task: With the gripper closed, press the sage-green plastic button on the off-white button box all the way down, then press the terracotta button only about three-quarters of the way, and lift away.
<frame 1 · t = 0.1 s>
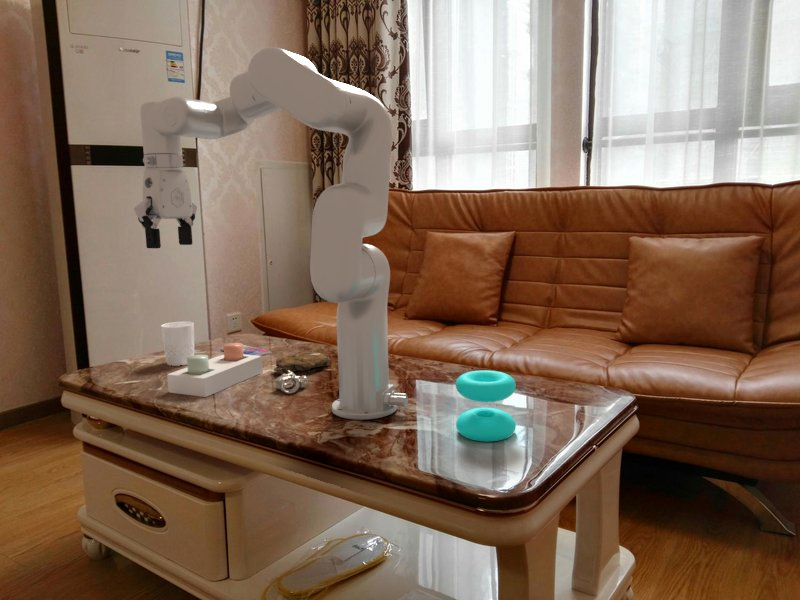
hand: (170, 246, 133), 31 cm above the table, tool pointing down, fingers open, 9 cm apart
sage button: (198, 366, 135), point 5 cm above the table, slide at 0.0 cm
ornament: (292, 390, 135), on the table
donuts: (485, 434, 106), on the table
decorative rock: (302, 370, 151), on the table
smartphone: (246, 353, 169), on the table
terracotta button: (233, 353, 146), point 5 cm above the table, slide at 0.0 cm
white cup: (180, 363, 159), on the table
button box: (218, 381, 141), on the table
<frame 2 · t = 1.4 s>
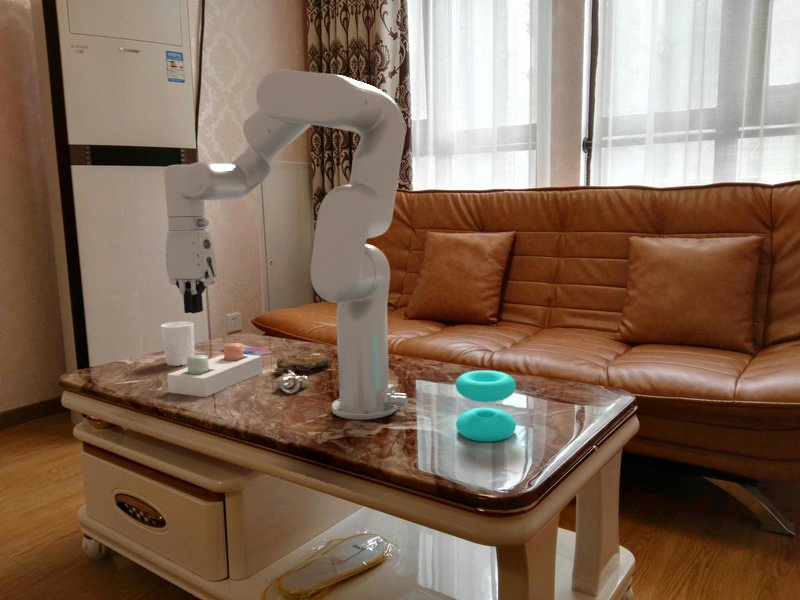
hand: (193, 311, 133), 17 cm above the table, tool pointing down, fingers closed
nothing on the table moved.
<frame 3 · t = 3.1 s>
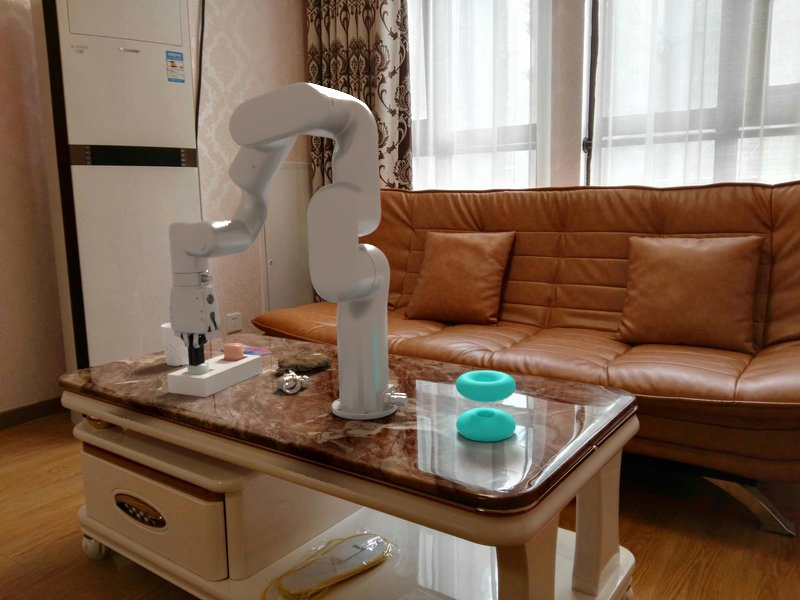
hand: (196, 364, 135), 6 cm above the table, tool pointing down, fingers closed
sage button: (198, 373, 135), point 4 cm above the table, slide at 1.6 cm, touching gripper
everything else where it was.
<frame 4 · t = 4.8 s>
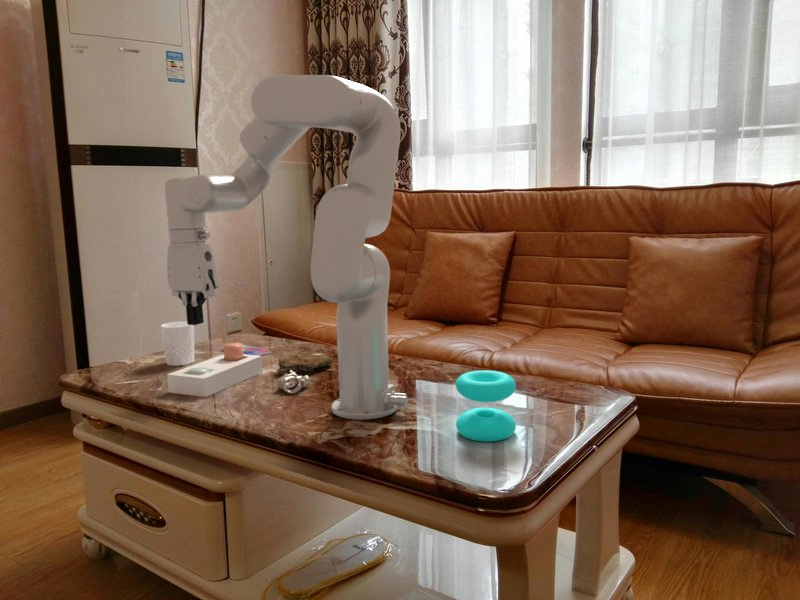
hand: (195, 323, 133), 15 cm above the table, tool pointing down, fingers closed
sage button: (199, 378, 135), point 2 cm above the table, slide at 2.8 cm
everything else where it was.
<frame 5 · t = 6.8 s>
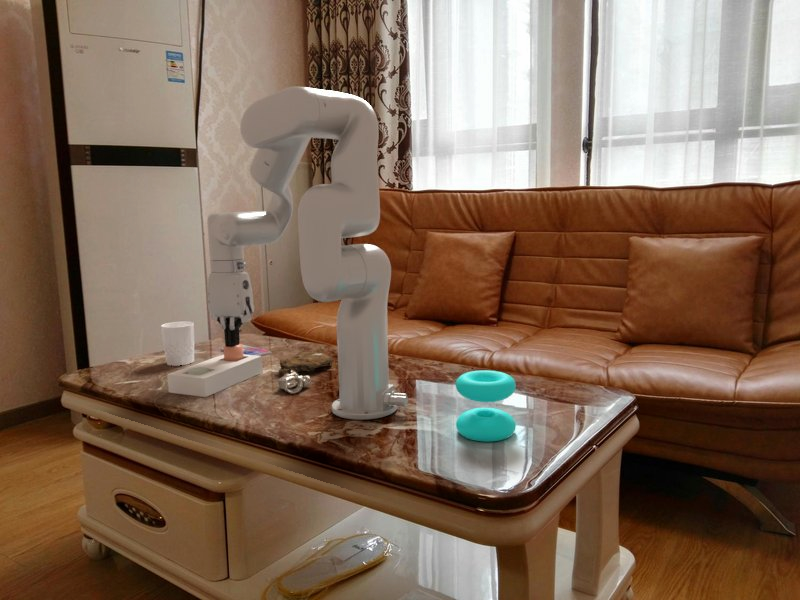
hand: (232, 345, 146), 7 cm above the table, tool pointing down, fingers closed
terracotta button: (233, 353, 146), point 5 cm above the table, slide at 0.2 cm, touching gripper
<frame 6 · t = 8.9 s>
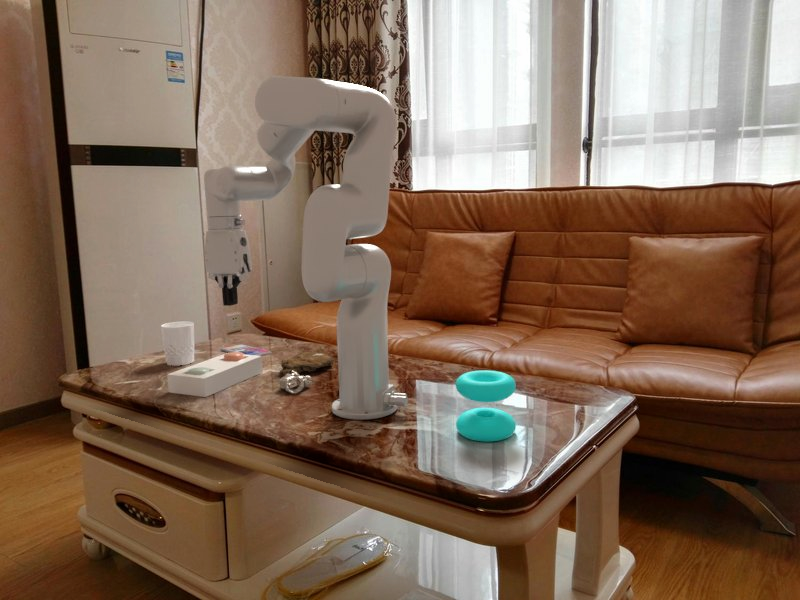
hand: (230, 304, 144), 17 cm above the table, tool pointing down, fingers closed
terracotta button: (234, 362, 146), point 3 cm above the table, slide at 2.2 cm
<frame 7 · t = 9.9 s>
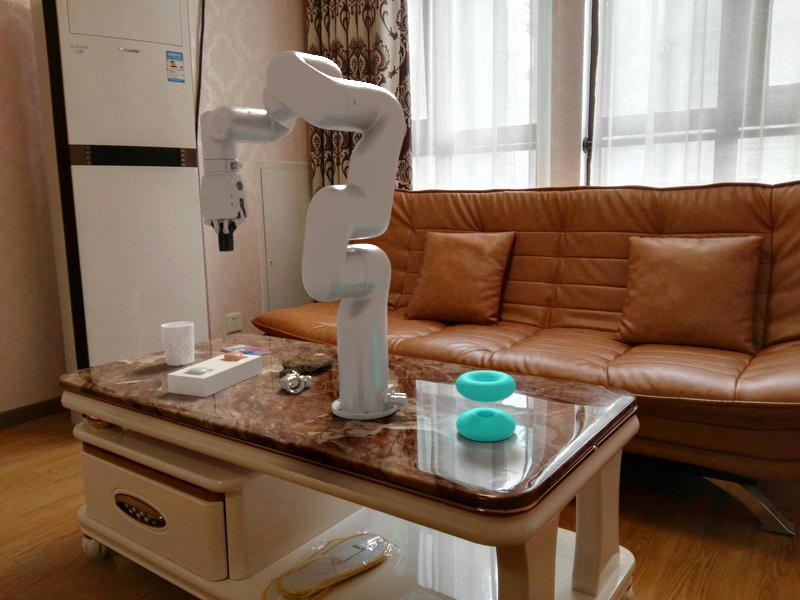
hand: (226, 250, 142), 29 cm above the table, tool pointing down, fingers closed
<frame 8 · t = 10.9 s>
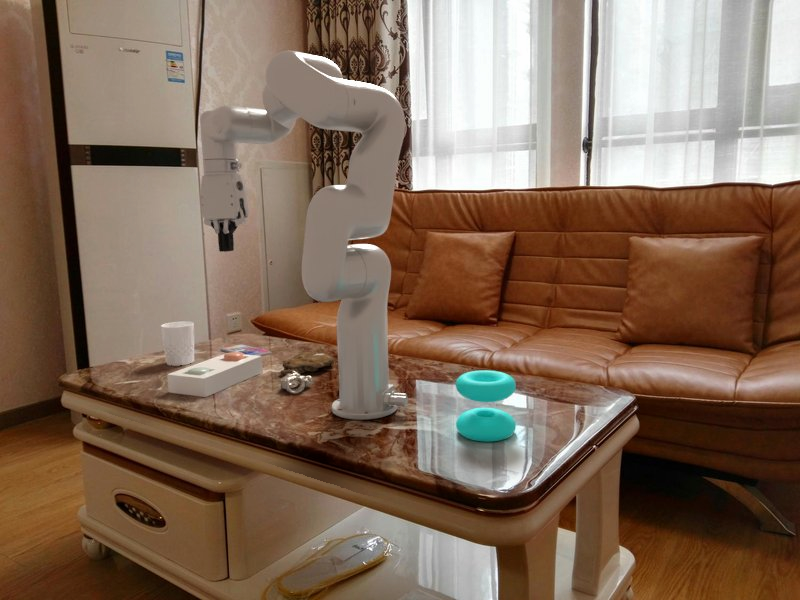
hand: (226, 250, 142), 29 cm above the table, tool pointing down, fingers closed
at the end: sage button slide at 2.8 cm; terracotta button slide at 2.2 cm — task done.
